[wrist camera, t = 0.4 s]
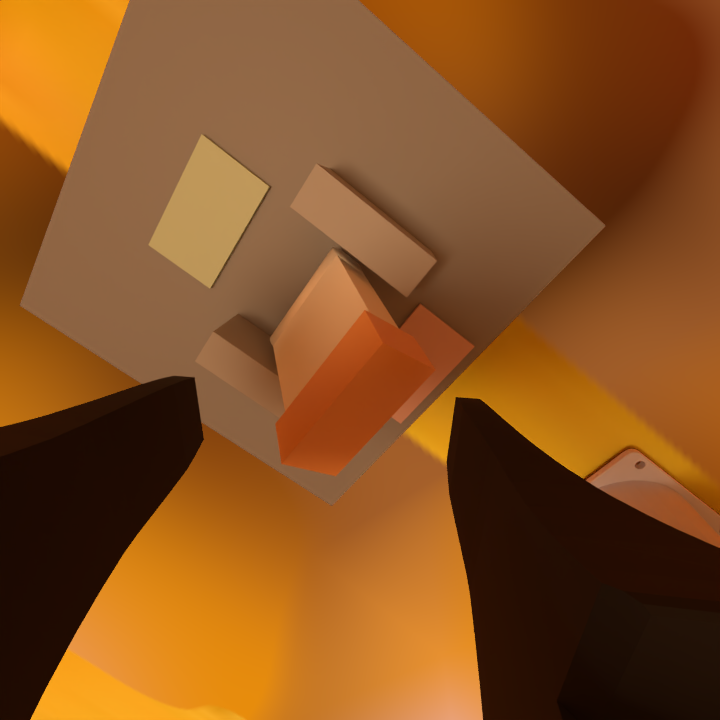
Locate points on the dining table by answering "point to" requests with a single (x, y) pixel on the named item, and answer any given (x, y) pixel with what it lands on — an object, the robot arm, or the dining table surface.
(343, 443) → the toggle lever
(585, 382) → the dining table surface
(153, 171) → the panel
